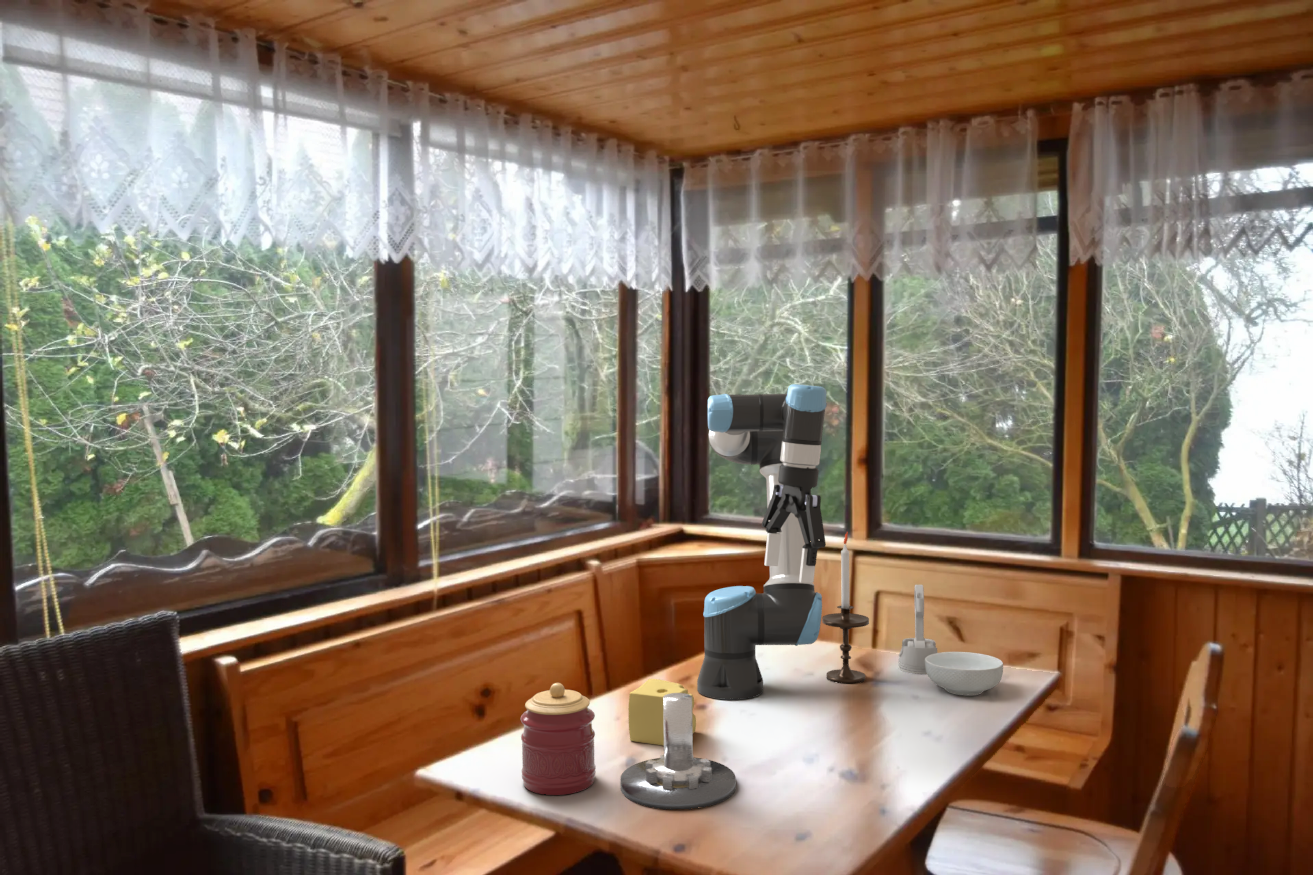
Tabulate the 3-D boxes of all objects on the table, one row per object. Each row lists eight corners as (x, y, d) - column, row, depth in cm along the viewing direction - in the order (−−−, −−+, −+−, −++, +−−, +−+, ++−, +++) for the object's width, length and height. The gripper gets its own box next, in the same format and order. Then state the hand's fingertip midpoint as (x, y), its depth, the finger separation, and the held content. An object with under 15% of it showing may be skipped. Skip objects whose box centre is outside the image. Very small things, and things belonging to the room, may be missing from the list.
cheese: (696, 732, 202) (695, 682, 201) (674, 749, 192) (674, 698, 192) (649, 725, 206) (649, 677, 206) (626, 742, 196) (625, 691, 196)
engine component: (899, 673, 241) (942, 675, 239) (899, 589, 240) (942, 590, 238) (897, 661, 252) (938, 663, 250) (897, 580, 251) (938, 581, 249)
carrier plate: (603, 775, 179) (603, 767, 179) (703, 757, 187) (702, 749, 187) (649, 818, 161) (648, 808, 161) (757, 796, 169) (757, 786, 169)
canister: (528, 768, 183) (526, 672, 182) (599, 768, 183) (597, 672, 182) (516, 796, 170) (514, 694, 169) (592, 796, 170) (590, 694, 169)
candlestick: (851, 669, 245) (850, 527, 243) (878, 681, 235) (877, 532, 233) (813, 675, 241) (812, 530, 239) (839, 687, 231) (838, 536, 229)
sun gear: (634, 770, 177) (633, 692, 176) (693, 760, 182) (692, 683, 181) (662, 794, 166) (661, 711, 166) (723, 782, 171) (723, 701, 170)
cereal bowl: (1011, 686, 230) (1011, 656, 229) (992, 706, 215) (992, 673, 215) (937, 676, 239) (937, 646, 238) (915, 694, 225) (915, 663, 224)
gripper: (852, 475, 182) (839, 589, 184) (784, 457, 205) (773, 559, 207) (816, 473, 180) (804, 589, 181) (751, 455, 203) (741, 559, 204)
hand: (788, 573), depth 194 cm, fingers open, 13 cm apart
